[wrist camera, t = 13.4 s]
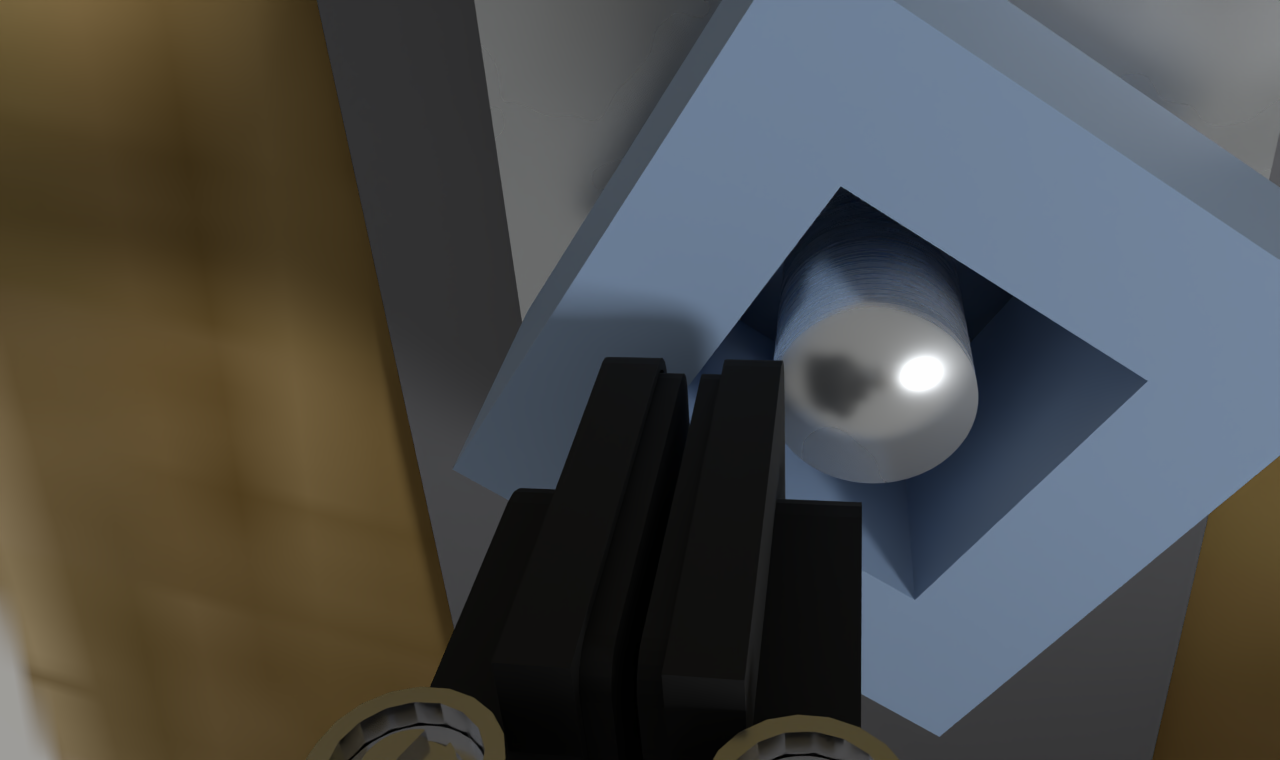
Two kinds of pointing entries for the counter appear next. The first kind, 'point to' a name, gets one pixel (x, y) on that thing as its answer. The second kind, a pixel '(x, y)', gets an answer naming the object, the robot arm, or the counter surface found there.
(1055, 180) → the square hole block
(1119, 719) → the bench mat
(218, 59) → the counter surface
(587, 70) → the hub
